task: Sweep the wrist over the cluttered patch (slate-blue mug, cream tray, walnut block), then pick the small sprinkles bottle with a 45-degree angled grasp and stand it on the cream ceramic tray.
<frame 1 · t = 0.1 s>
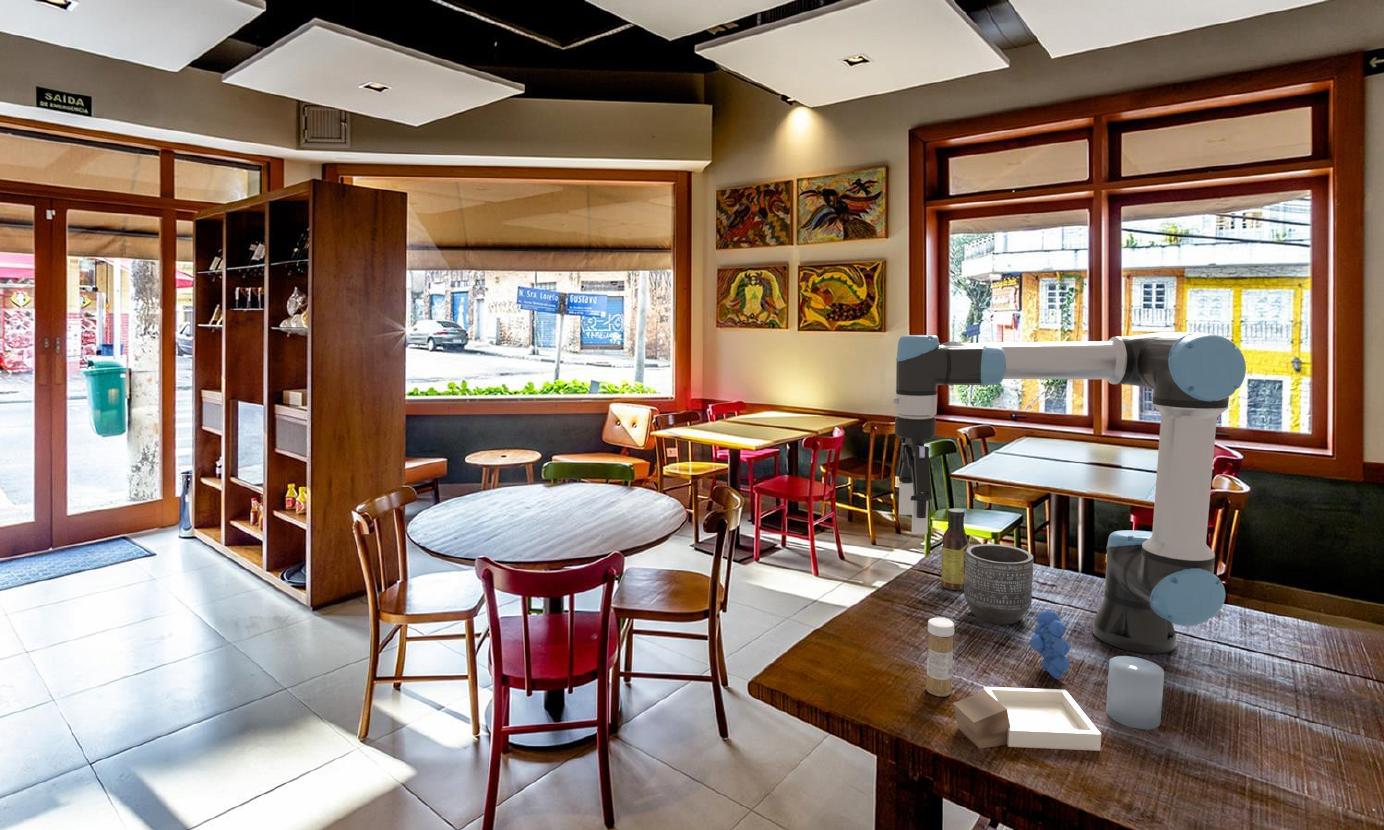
hand: (912, 523, 145), 28 cm above the table, tool pointing down, fingers open, 13 cm apart
grapes: (1045, 673, 142), on the table
tray: (1037, 724, 124), on the table
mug: (1132, 716, 127), on the table
planter: (996, 616, 169), on the table
walnut block: (986, 737, 121), on the table, tilted 15°, touching tray
sauce bottle: (953, 587, 187), on the table
sprinkles bottle: (938, 692, 136), on the table
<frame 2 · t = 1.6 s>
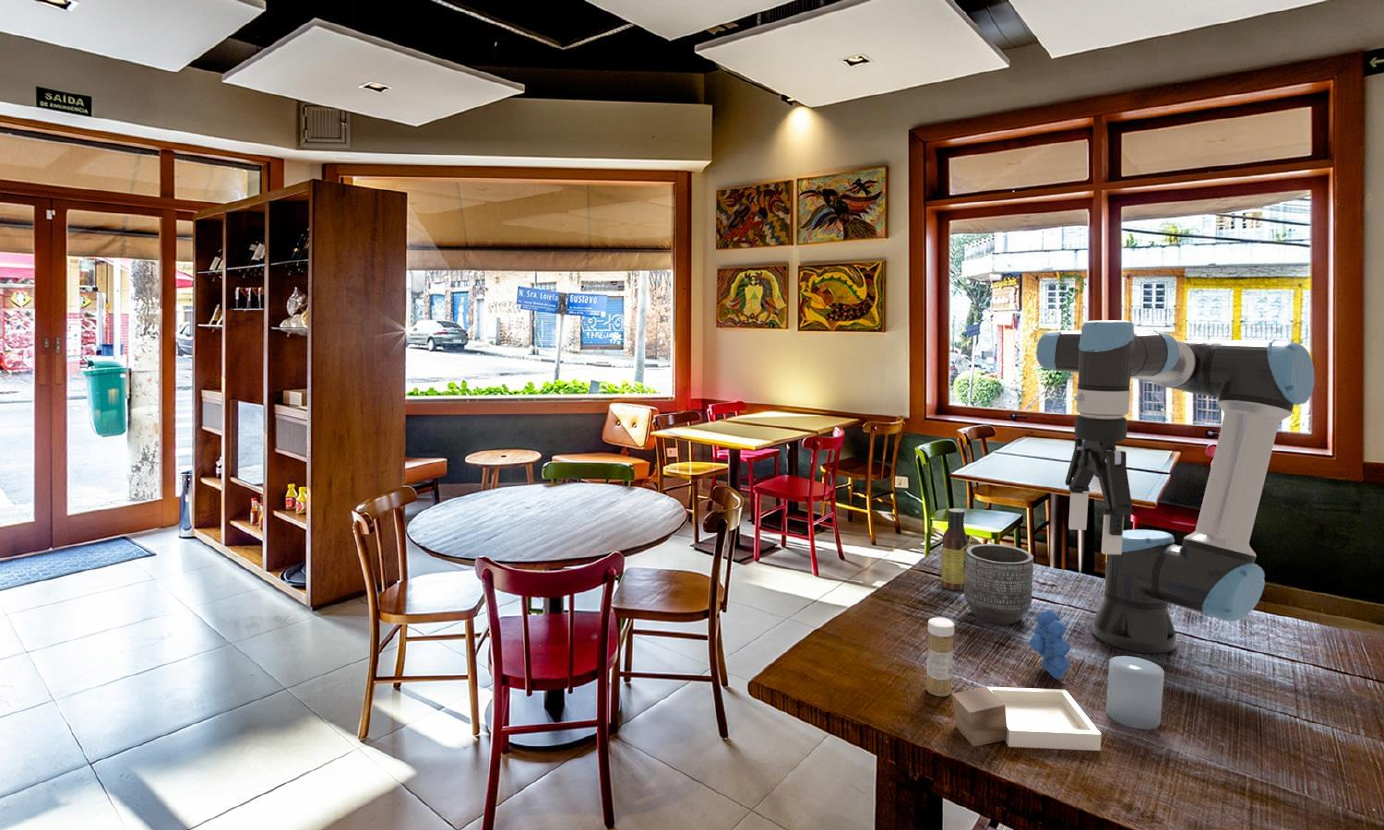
hand: (1093, 540, 124), 31 cm above the table, tool pointing down, fingers open, 13 cm apart
walnut block: (981, 732, 122), on the table, tilted 8°, touching tray
everything else where it was.
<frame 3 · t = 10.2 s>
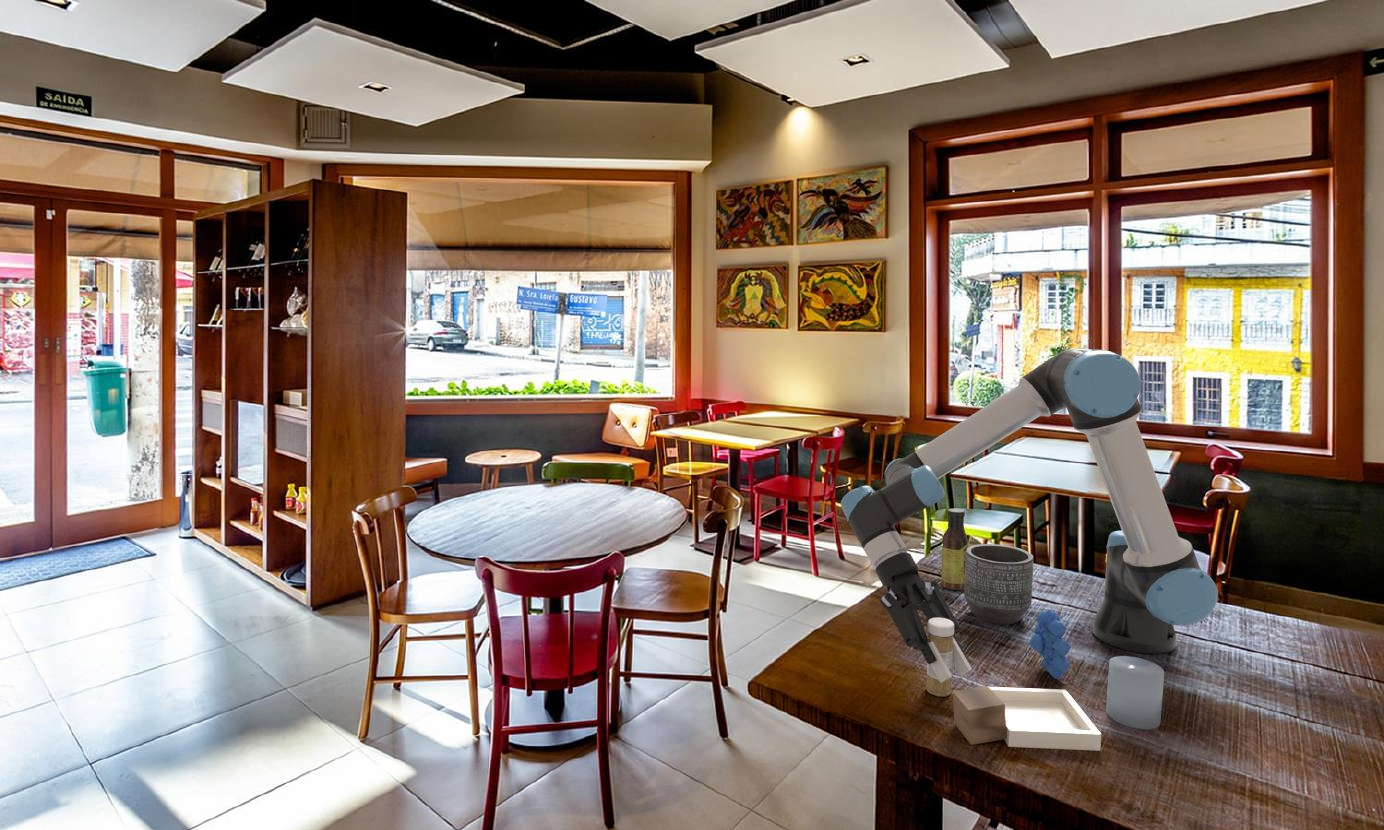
hand: (956, 675, 132), 5 cm above the table, tool tilted 45°, fingers closed on sprinkles bottle, 4 cm apart
walnut block: (980, 731, 122), on the table, tilted 6°, touching tray
sprinkles bottle: (938, 692, 136), on the table, touching gripper
everything else where it was.
when the fingers open (7 cm above the table, at t = 16.5 s): sprinkles bottle drops 1 cm, resting on tray.
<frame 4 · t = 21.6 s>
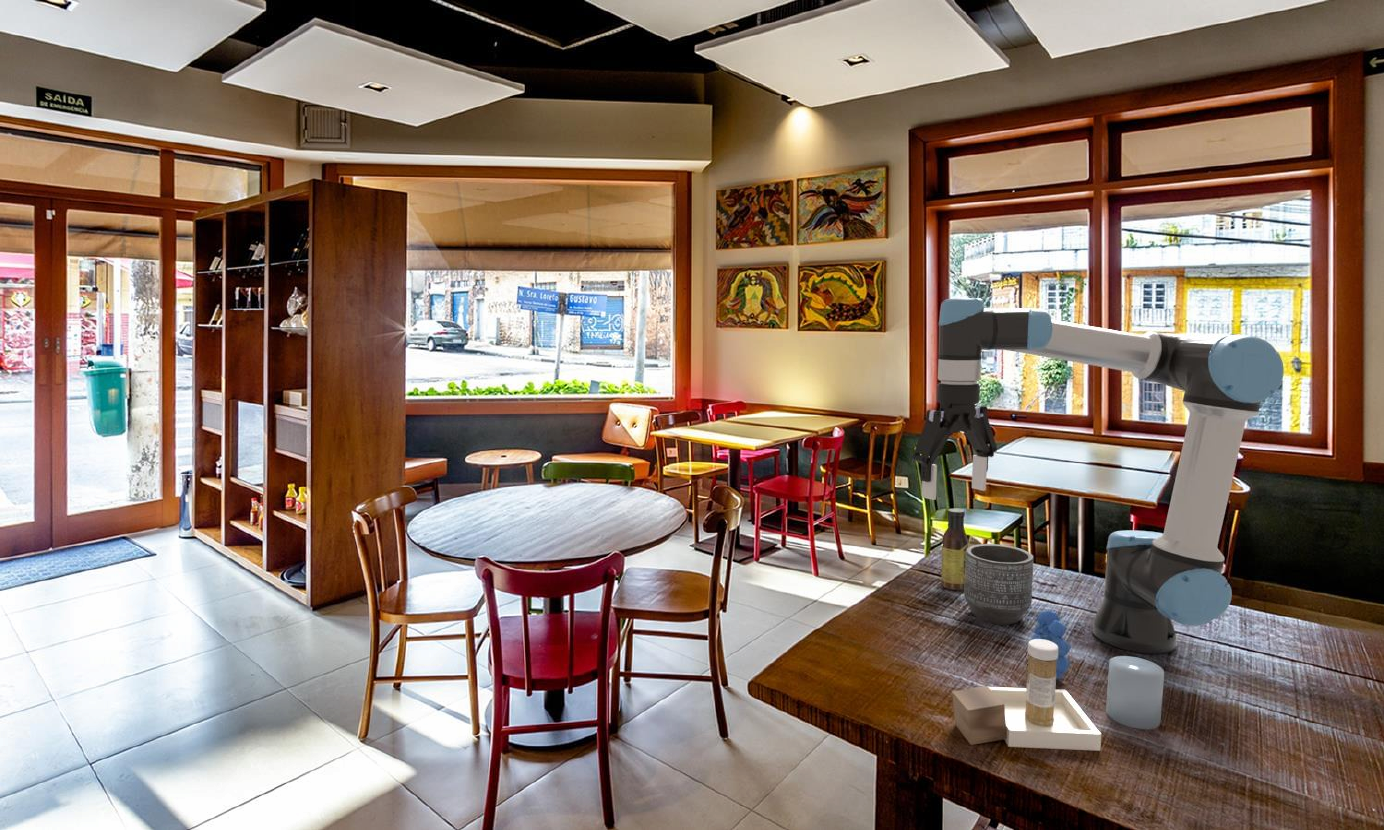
hand: (954, 493, 140), 35 cm above the table, tool pointing down, fingers open, 13 cm apart
sprinkles bottle: (1039, 720, 124), point 1 cm above the table, touching tray
everything else where it was.
at the end: sprinkles bottle inside the target area on the tray (0.2 cm from its centre), point 0.6 cm above the tray's base; sprinkles bottle tilted 0°; the gripper is holding nothing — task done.
